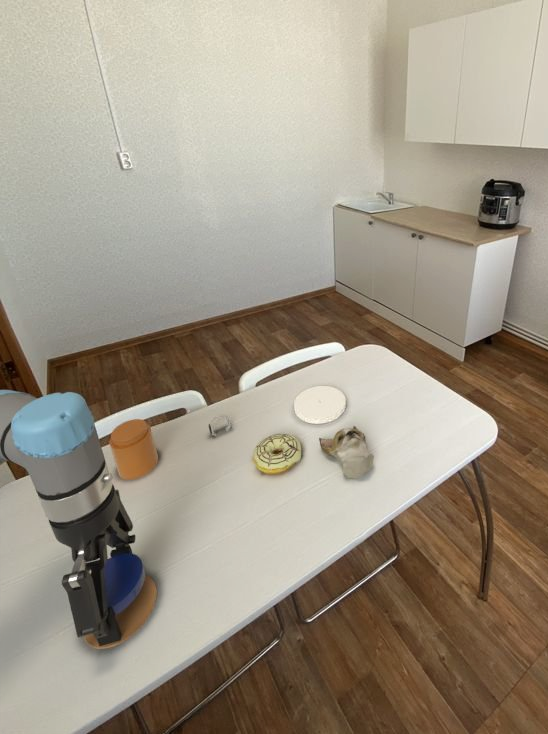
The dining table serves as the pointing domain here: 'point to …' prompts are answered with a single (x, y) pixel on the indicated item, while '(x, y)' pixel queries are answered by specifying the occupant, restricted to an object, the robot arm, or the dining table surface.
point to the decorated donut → (280, 462)
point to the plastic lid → (320, 404)
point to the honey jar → (133, 449)
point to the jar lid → (123, 580)
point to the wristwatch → (216, 420)
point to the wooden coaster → (132, 614)
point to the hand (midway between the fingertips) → (120, 606)
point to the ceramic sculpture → (349, 451)
